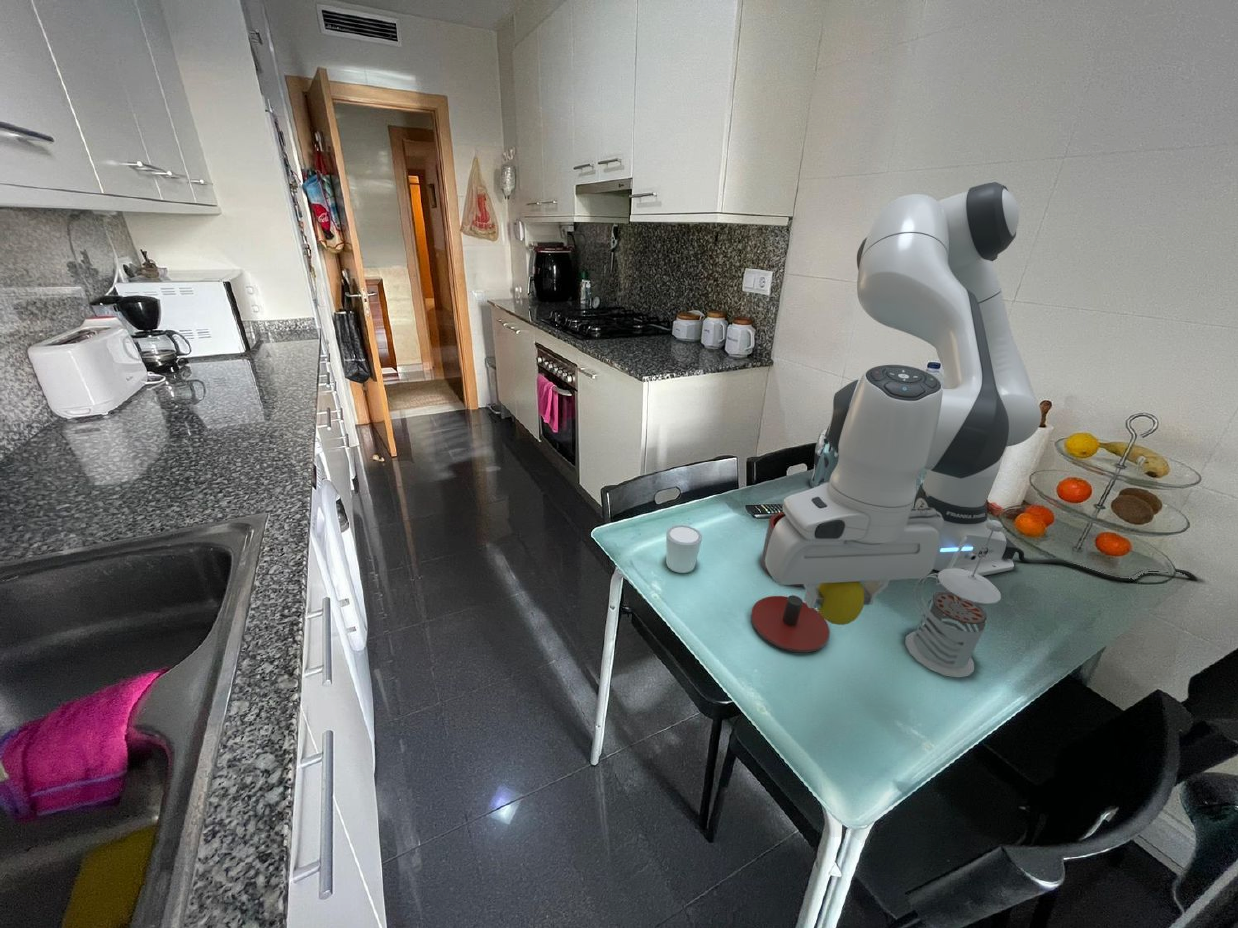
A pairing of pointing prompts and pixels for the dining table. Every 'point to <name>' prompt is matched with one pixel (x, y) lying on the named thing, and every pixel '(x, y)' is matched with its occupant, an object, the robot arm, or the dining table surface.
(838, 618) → the lemon
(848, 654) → the dining table surface
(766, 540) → the tin
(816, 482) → the beer glass
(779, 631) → the tin lid
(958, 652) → the french press
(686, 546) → the white cup
